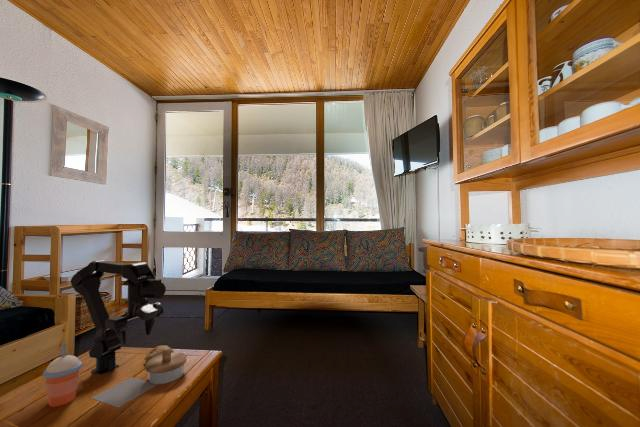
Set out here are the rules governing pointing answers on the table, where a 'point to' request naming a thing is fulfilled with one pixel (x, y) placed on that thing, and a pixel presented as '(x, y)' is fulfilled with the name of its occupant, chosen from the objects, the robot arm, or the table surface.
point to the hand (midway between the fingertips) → (136, 339)
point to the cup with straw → (62, 378)
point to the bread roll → (155, 352)
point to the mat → (124, 392)
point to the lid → (166, 361)
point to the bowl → (165, 376)
